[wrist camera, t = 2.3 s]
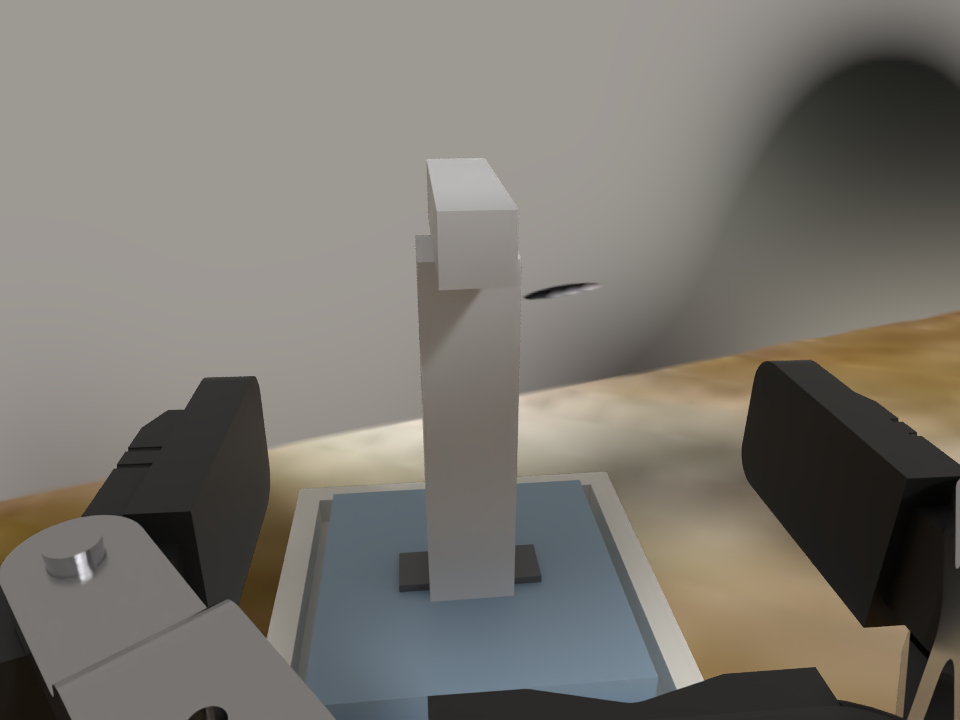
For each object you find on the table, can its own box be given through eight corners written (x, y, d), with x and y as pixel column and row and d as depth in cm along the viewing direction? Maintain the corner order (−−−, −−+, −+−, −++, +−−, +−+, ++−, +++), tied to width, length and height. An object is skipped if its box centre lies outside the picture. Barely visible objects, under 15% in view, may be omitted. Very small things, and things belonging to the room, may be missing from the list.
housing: (602, 553, 37) (609, 468, 35) (719, 855, 23) (743, 745, 21) (306, 573, 36) (295, 486, 34) (247, 906, 22) (222, 794, 20)
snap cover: (577, 516, 33) (601, 149, 27) (651, 721, 23) (721, 219, 17) (337, 531, 32) (298, 154, 26) (308, 752, 22) (232, 231, 16)
